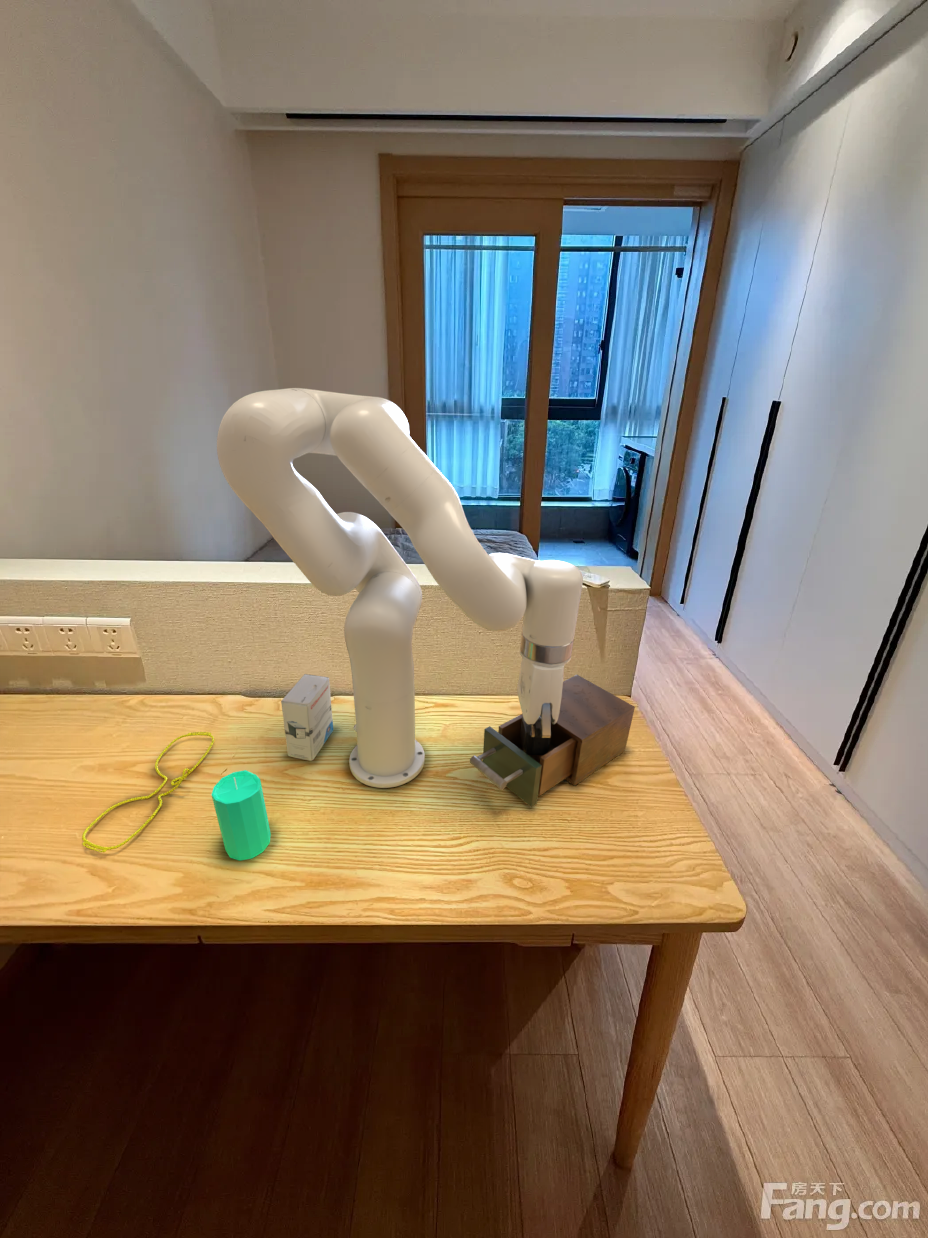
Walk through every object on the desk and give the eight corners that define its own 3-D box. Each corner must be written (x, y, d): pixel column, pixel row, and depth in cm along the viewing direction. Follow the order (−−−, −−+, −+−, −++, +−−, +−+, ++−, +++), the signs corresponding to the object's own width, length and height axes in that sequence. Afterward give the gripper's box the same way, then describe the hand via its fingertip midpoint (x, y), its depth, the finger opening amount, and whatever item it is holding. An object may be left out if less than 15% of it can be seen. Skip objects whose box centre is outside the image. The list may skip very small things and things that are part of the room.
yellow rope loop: (183, 734, 92) (177, 712, 90) (235, 740, 91) (230, 719, 89) (68, 852, 70) (57, 827, 68) (135, 862, 69) (126, 837, 67)
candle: (244, 868, 69) (228, 802, 63) (216, 847, 71) (198, 782, 66) (280, 837, 73) (268, 773, 68) (252, 818, 76) (239, 755, 70)
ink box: (310, 726, 95) (303, 672, 90) (336, 730, 94) (330, 676, 89) (287, 757, 88) (278, 700, 82) (314, 762, 87) (307, 705, 82)
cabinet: (574, 786, 84) (582, 739, 79) (519, 745, 92) (524, 701, 88) (625, 750, 92) (635, 706, 88) (570, 715, 100) (577, 674, 96)
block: (523, 752, 81) (525, 732, 80) (519, 736, 85) (522, 716, 83) (548, 752, 82) (551, 732, 80) (543, 736, 85) (546, 716, 83)
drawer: (508, 823, 75) (512, 784, 72) (459, 779, 83) (460, 741, 80) (585, 770, 86) (592, 733, 82) (535, 735, 94) (539, 700, 90)
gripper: (513, 619, 82) (504, 712, 90) (529, 676, 67) (517, 781, 76) (559, 619, 83) (546, 712, 91) (586, 677, 68) (567, 781, 76)
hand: (533, 742), depth 83 cm, fingers closed on block, 4 cm apart
